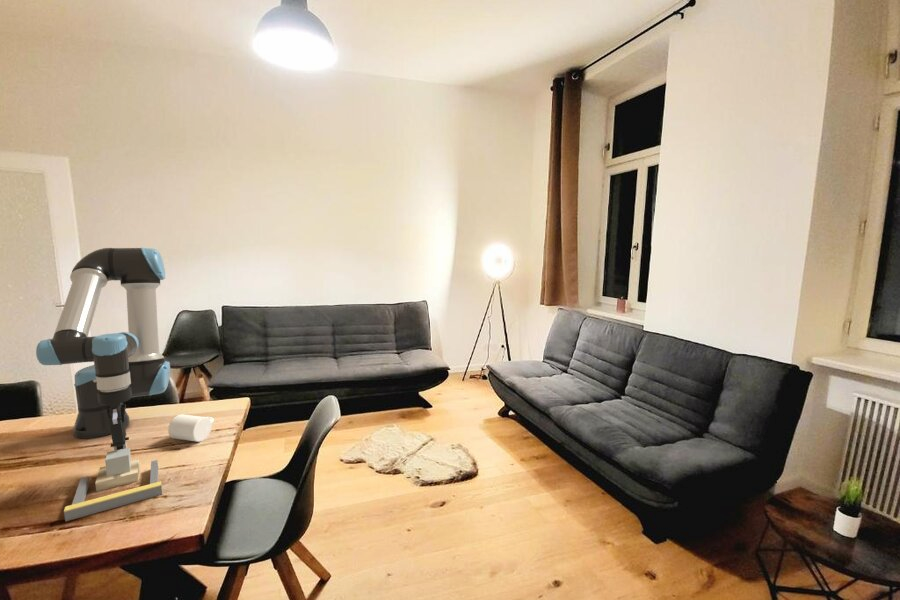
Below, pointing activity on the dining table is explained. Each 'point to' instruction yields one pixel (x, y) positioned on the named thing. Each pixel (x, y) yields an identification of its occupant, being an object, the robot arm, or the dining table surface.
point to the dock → (111, 497)
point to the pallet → (117, 477)
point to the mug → (190, 427)
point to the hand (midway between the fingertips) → (122, 464)
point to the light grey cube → (118, 462)
